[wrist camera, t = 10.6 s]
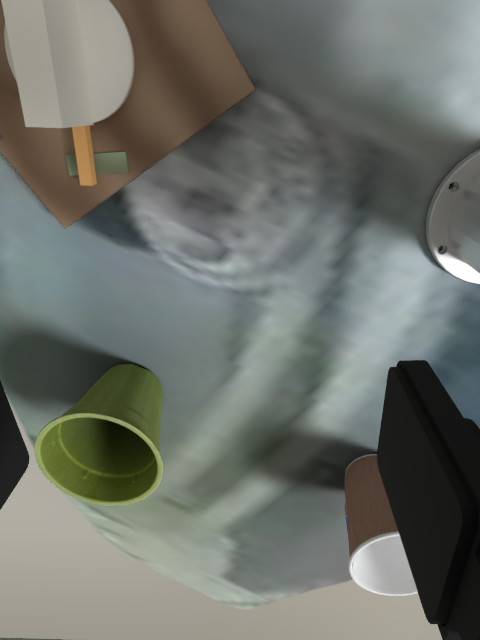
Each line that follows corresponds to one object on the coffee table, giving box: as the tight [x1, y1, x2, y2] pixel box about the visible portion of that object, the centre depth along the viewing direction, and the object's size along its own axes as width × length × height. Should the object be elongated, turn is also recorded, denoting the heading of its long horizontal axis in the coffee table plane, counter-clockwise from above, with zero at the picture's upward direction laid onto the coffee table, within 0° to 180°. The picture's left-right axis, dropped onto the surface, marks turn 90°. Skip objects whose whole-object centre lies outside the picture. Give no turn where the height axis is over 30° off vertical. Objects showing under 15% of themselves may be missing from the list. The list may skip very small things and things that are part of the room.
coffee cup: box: [344, 454, 418, 596], centre depth 47 cm, size 10×10×12 cm
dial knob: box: [1, 0, 135, 186], centre depth 28 cm, size 14×9×6 cm, turn 178°
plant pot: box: [34, 364, 163, 506], centre depth 43 cm, size 12×12×11 cm
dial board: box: [0, 0, 255, 229], centre depth 32 cm, size 20×18×3 cm
